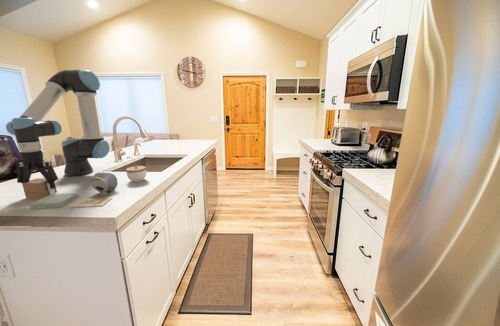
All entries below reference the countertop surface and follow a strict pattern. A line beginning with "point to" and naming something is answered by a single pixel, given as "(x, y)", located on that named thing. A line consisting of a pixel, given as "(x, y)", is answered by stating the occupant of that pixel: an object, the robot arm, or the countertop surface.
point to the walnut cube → (36, 188)
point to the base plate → (54, 200)
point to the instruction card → (91, 202)
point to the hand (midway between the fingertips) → (41, 195)
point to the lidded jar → (136, 173)
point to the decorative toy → (104, 182)
